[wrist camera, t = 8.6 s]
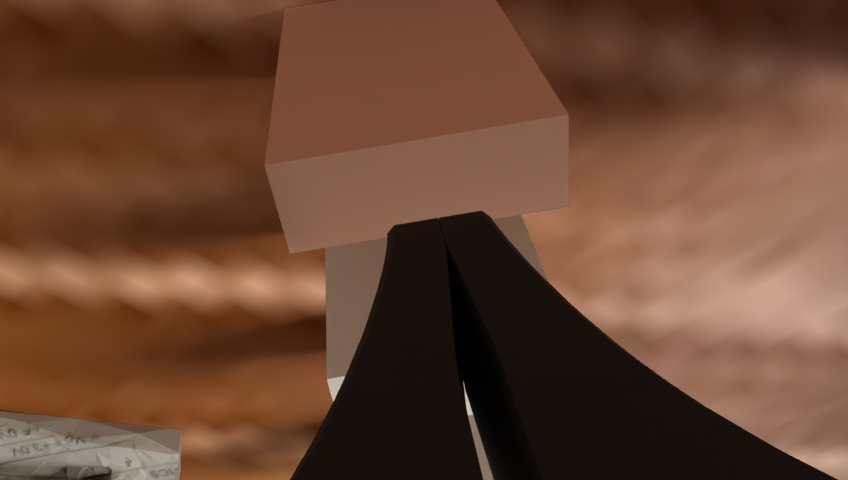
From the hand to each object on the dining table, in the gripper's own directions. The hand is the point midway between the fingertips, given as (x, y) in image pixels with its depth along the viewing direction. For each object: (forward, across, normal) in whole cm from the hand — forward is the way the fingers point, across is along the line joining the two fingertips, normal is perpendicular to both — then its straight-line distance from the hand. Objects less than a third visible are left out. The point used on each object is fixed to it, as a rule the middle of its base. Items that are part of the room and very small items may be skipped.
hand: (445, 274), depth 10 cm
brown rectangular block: (+10, 0, 0) cm, 10 cm away
